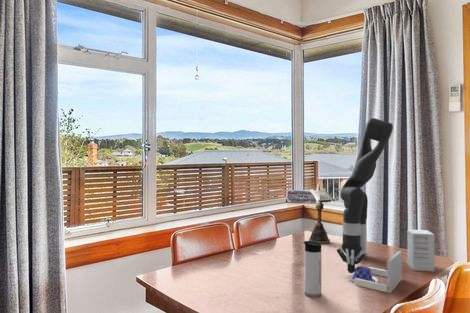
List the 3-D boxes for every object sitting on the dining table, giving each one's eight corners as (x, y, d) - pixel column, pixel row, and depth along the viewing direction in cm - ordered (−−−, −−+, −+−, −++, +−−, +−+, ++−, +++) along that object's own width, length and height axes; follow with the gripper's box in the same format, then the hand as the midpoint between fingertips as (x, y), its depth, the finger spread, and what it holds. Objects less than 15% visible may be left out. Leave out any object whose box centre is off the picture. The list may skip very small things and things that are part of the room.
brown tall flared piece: (340, 245, 203) (340, 184, 202) (319, 247, 199) (319, 185, 199) (325, 238, 219) (325, 182, 218) (306, 239, 215) (306, 182, 215)
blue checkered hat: (341, 277, 152) (341, 265, 152) (363, 274, 157) (363, 262, 157) (361, 287, 141) (361, 274, 141) (384, 283, 146) (384, 270, 146)
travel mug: (301, 291, 137) (301, 239, 137) (318, 290, 138) (318, 239, 137) (306, 297, 131) (306, 243, 131) (323, 297, 131) (323, 243, 131)
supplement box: (435, 271, 158) (435, 234, 158) (412, 270, 160) (413, 233, 160) (427, 265, 168) (428, 229, 167) (406, 263, 170) (407, 228, 169)
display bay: (354, 284, 143) (354, 255, 143) (368, 272, 158) (369, 245, 158) (390, 293, 135) (390, 261, 135) (401, 279, 150) (401, 250, 149)
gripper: (333, 232, 154) (333, 271, 154) (364, 236, 146) (363, 278, 146) (340, 229, 160) (339, 267, 160) (370, 233, 152) (369, 273, 152)
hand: (351, 272), depth 153 cm, fingers closed
